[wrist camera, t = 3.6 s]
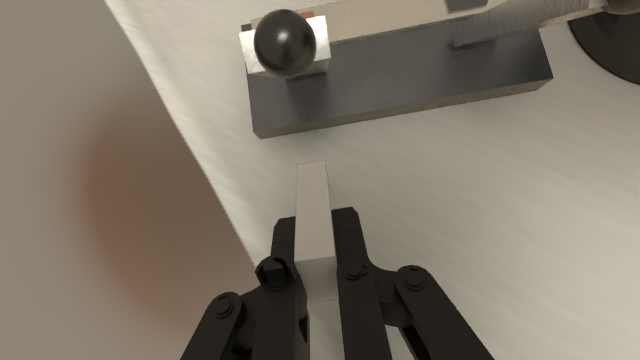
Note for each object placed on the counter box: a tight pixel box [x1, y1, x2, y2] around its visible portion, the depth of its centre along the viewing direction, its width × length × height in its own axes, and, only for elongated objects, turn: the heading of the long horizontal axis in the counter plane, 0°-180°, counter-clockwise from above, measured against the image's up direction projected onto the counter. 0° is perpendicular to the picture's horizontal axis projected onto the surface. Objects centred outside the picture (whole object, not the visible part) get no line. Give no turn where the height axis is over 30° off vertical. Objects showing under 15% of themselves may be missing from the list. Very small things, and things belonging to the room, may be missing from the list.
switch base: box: [241, 0, 553, 139], centre depth 24 cm, size 10×24×3 cm, turn 99°
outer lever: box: [239, 9, 331, 79], centre depth 17 cm, size 3×4×13 cm
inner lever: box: [454, 0, 640, 47], centre depth 16 cm, size 3×4×13 cm
